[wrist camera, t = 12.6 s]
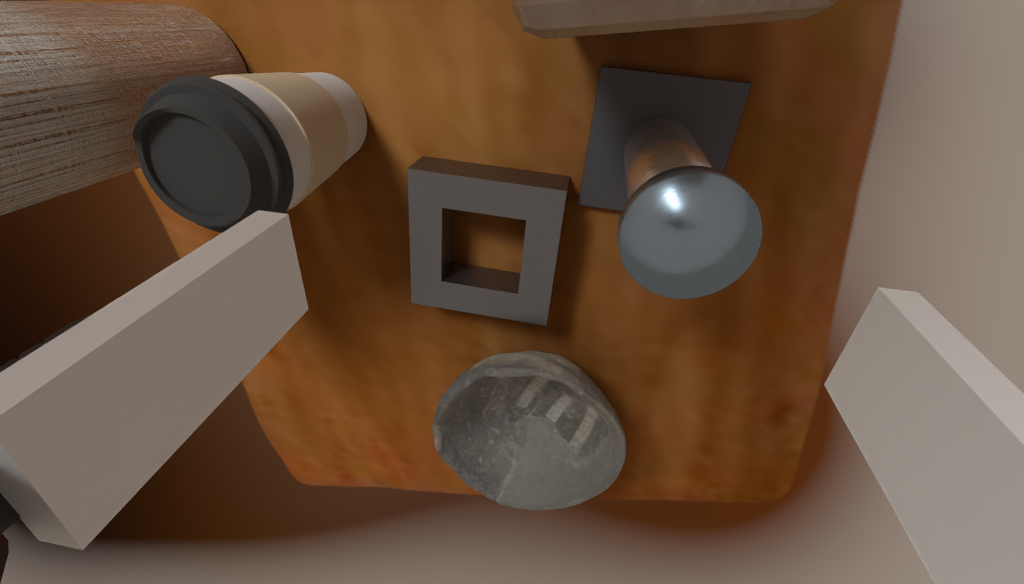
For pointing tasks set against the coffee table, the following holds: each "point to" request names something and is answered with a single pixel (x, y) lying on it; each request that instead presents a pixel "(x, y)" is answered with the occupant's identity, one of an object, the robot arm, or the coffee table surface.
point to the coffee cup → (246, 142)
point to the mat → (644, 94)
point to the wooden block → (652, 14)
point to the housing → (492, 193)
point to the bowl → (530, 431)
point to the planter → (89, 86)
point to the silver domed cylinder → (682, 215)
